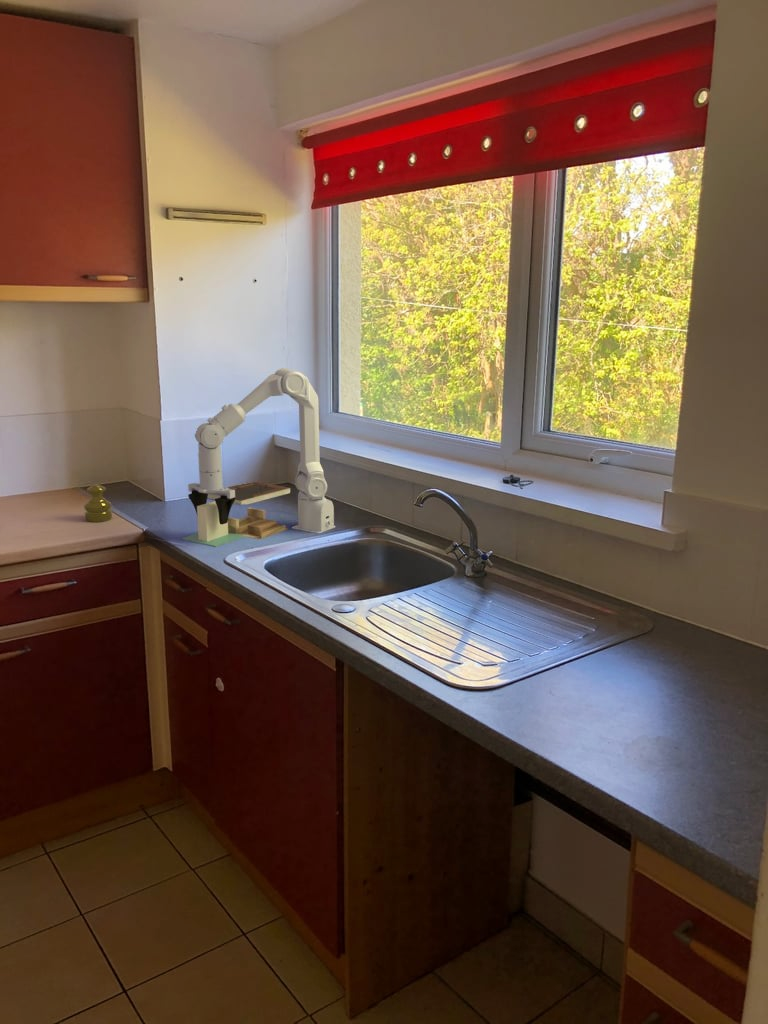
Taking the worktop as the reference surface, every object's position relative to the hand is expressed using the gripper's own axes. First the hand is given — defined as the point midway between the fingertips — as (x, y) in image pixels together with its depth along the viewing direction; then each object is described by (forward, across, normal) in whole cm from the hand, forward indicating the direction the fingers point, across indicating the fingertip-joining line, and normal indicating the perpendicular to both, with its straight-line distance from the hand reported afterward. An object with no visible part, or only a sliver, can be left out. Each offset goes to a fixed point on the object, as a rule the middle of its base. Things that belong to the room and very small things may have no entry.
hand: (212, 521), depth 219 cm
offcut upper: (+3, +7, +12) cm, 14 cm away
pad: (+5, 0, 0) cm, 5 cm away
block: (+4, 0, 0) cm, 4 cm away
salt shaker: (+5, -41, -3) cm, 41 cm away
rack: (+5, +4, +12) cm, 13 cm away
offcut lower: (+4, +7, +12) cm, 15 cm away
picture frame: (+6, -25, +42) cm, 50 cm away
